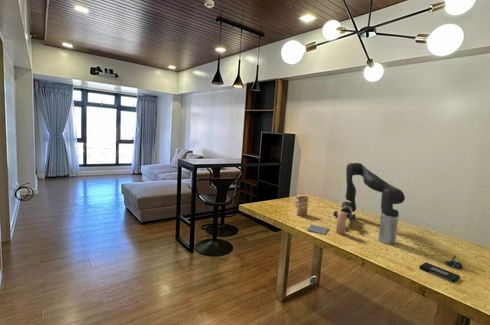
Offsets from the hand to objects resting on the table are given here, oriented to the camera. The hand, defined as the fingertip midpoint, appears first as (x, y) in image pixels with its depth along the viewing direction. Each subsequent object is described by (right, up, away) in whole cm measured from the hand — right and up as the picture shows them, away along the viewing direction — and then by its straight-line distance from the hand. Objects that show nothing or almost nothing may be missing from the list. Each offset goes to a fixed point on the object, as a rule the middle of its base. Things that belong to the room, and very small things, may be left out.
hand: (343, 218), depth 181 cm
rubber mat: (-18, -8, -2) cm, 20 cm away
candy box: (-23, -3, +29) cm, 37 cm away
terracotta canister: (-4, -9, -6) cm, 11 cm away
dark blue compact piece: (+42, -16, -43) cm, 62 cm away
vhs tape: (+27, -17, -51) cm, 61 cm away
